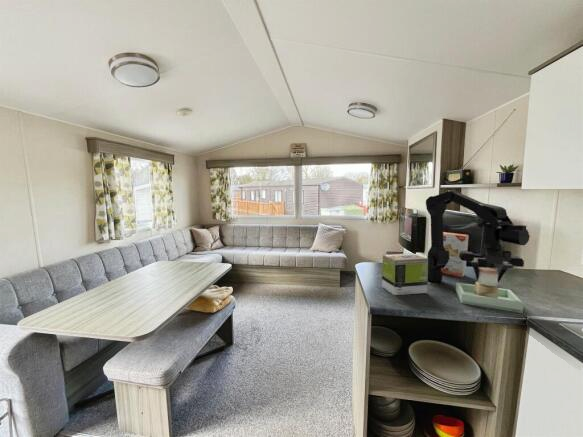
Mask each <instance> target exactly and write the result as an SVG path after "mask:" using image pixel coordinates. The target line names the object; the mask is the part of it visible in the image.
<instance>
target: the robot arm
mask: <svg viewBox="0 0 583 437" xmlns="http://www.w3.org/2000/svg"><path fill="white" fill-rule="evenodd" d="M451 203H455V204H457V205H458V206H459V205H460V206H461V207H463V208H465V209H468V210H469V211H472V212H473V213H475V215H476V216H477V217H478V218H479V219H481V220H482V221H481V222H480V223H478V224H477V225H476V227H478V228H482V233H481V246H480V251H479V252H480V254H475V253H473V252H472V251H468V250H467V251H461V252H460V253H459V258H460V259H461V260H463V261H466V262H468V263H469V264H471V266H472V268H473V271H474V275H475V278H476V280H478V279H479V268H480V267H479V266H480V263H479V261H485V262H486V263H487V264H490V265H491V264H494V265H495V264H497V265H498V267H497V271H499V273H498V283H500V282H501V279H502V277H503V276H504V275H505V273H506V272H507V271H508V270H510V269H514V267H521V268H523V267H524V266H525V260H524V259H523V258H521V257H520V256H518V255H512V252H511V250H502V242H503V243H505V244H511V245H516V246H518V245H519V246H526V245H527V244H528V242H529V240H530V238H531V237H530V236H531V235H530V234H529V233H530V232H529V230H528V229H527V225H525V224H518V225H517V224H514V223H513V221H512V220H511V218H510V217H509V215H508V213H507V210H506V208H504V207H501V206H498V205H494V204H489V203H484V202H481V201H478V200H477V199H474V198H472V197H471V196H468V195H466V194H463V193H462V192H459V191H457V190H448V191H445V192H443V193H440V194H437V195H433V196H432V195H431V196H429V197H428V198H427V199H426V200H425V206H426V207H425V208H426V211H427V212H428V214H429V216H430V248H429V250H428V251H427V257H426V258H427V259H428V282H431V283H436V284H437V283H439V284H442V281H443V274H444V273H443V272H442V271H441V268H444V267H445V265H446V264H447V263H448V261H449V259H450V258H449V251H446V250H445V248H444V244H443V232H444V214H445V212H446V210H447V205H450V204H451Z"/></svg>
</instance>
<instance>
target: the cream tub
mask: <svg viewBox="0 0 583 437" xmlns="http://www.w3.org/2000/svg"><path fill="white" fill-rule="evenodd" d="M498 273H499V271H498V269H494V268H491V267H479V279H477V282H478V283H480V284H483V285H488V286H496V287H497V286H498V283H499V282H498Z"/></svg>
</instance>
